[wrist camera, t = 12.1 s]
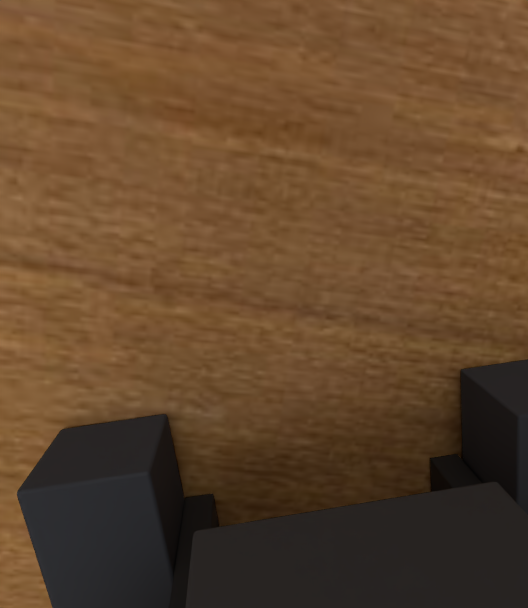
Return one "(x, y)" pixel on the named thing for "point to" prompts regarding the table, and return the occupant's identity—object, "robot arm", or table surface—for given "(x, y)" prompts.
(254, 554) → the black square block
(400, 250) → the table surface
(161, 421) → the base pad
